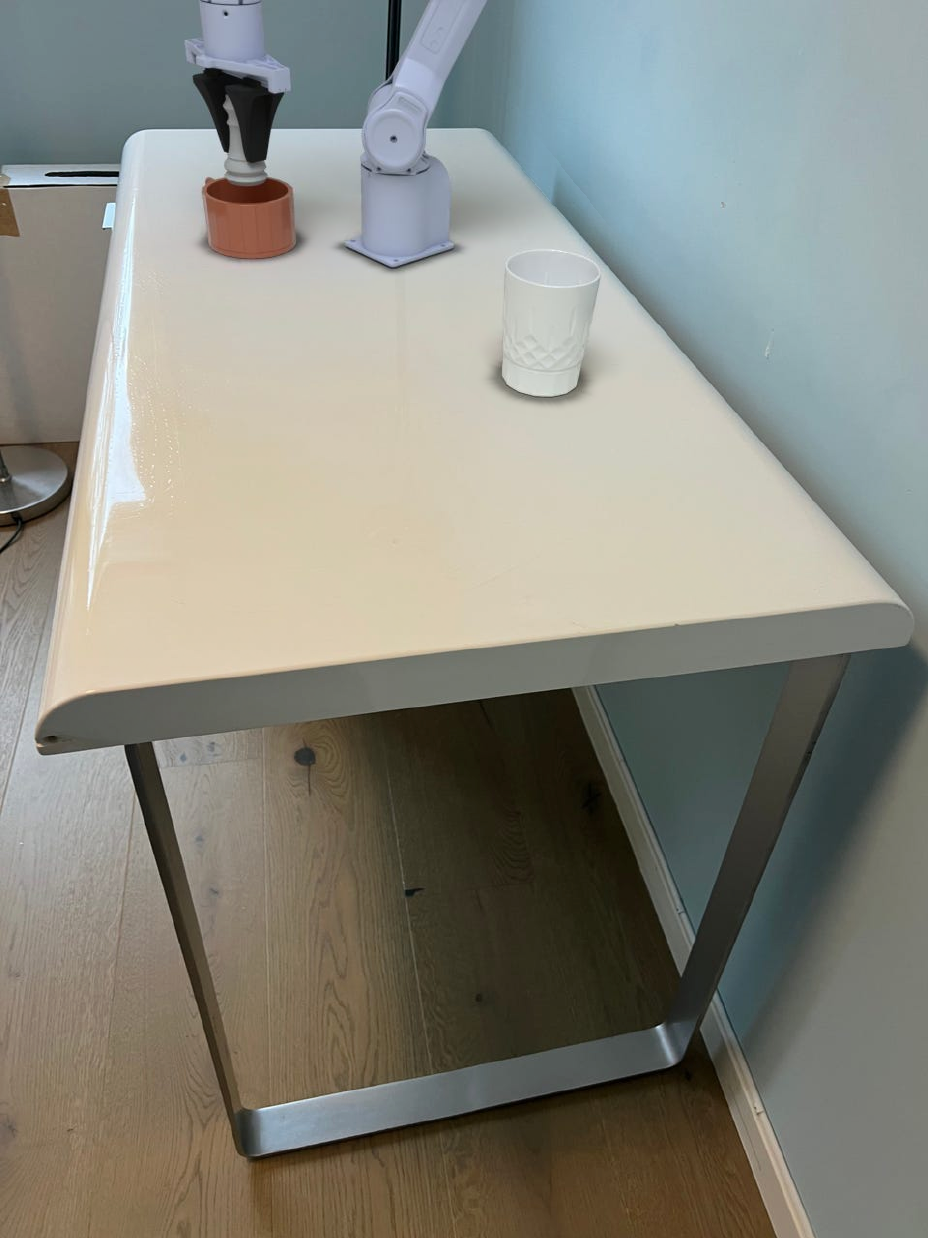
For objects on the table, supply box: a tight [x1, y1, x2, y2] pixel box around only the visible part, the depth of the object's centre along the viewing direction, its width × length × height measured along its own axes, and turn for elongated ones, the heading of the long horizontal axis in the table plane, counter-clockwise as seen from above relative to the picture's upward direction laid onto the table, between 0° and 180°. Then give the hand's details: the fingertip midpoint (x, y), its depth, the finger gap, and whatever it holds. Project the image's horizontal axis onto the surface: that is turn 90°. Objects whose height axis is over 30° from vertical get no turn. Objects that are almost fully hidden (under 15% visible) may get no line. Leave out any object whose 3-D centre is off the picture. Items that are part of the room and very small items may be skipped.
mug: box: [201, 176, 297, 260], centre depth 102 cm, size 12×9×6 cm
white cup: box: [501, 248, 602, 398], centre depth 80 cm, size 8×8×10 cm
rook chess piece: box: [223, 95, 269, 186], centre depth 96 cm, size 4×4×8 cm
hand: (244, 155), depth 97 cm, fingers closed on rook chess piece, 3 cm apart
